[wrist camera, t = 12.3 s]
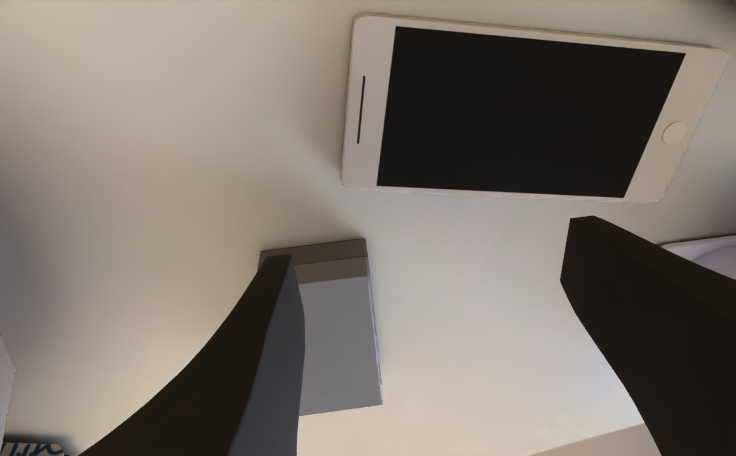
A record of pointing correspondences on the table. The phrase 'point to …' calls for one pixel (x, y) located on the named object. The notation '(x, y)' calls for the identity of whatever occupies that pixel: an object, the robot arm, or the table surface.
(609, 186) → the smartphone
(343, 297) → the grey stack
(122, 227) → the table surface
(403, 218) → the table surface
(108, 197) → the table surface
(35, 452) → the handgun
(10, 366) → the flower arrangement
